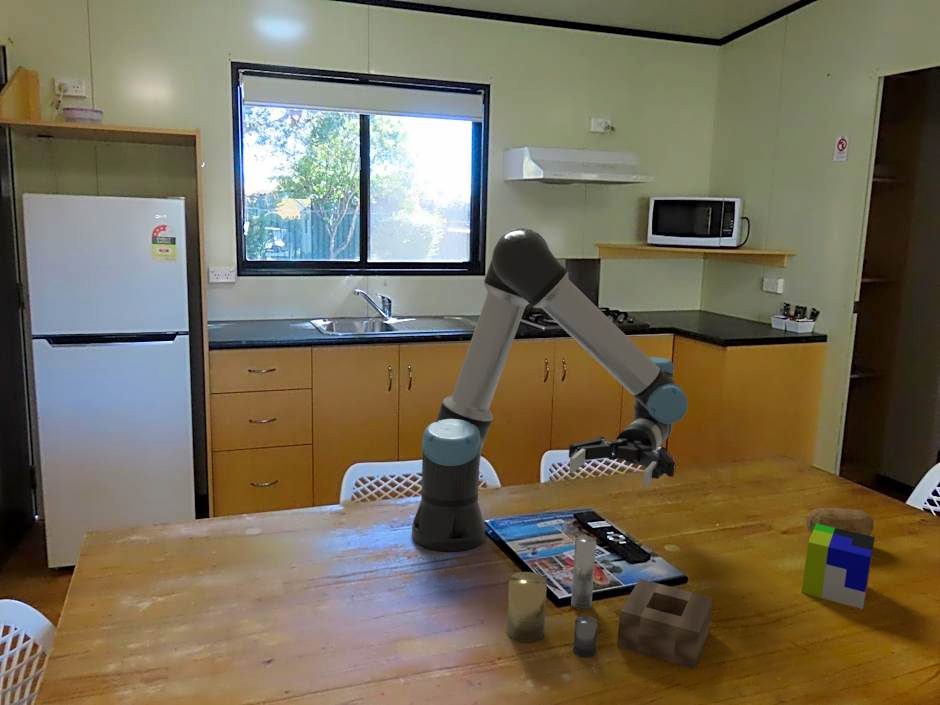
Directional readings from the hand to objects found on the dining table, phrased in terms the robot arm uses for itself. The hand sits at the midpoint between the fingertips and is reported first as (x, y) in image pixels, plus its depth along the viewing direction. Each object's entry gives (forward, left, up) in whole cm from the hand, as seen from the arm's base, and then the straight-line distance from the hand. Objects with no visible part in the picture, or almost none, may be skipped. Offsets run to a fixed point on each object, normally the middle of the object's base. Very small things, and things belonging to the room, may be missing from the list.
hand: (607, 472), depth 133 cm
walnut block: (+15, -13, -21) cm, 29 cm away
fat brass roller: (-5, -23, -21) cm, 32 cm away
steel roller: (0, -10, -21) cm, 23 cm away
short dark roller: (+5, -23, -21) cm, 31 cm away
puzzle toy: (+39, +20, -21) cm, 49 cm away
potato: (+39, +42, -21) cm, 61 cm away
